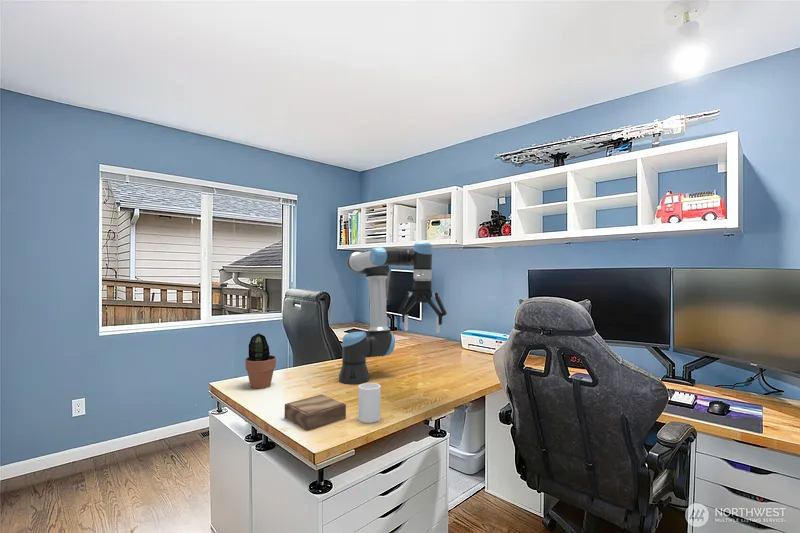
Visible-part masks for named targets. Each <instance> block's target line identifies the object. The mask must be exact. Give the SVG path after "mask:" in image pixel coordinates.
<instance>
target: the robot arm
mask: <svg viewBox="0 0 800 533" xmlns="http://www.w3.org/2000/svg"><path fill="white" fill-rule="evenodd" d="M432 248H433V247H432V244H431V243H430V242H415V243H414V244H413V248H408V247H407V248H402V247H383V246H378V247H373V248H371V249H370V250H369V251H355V252H352V253H350V254H349V255H348V257H347V258H346V266H347V268H348V270H349V271H351V272H353V273H355V274H360V275H365V278H366V280H368V288H369V289H368V290H369V292H368V294H369V295H368V296H369V318H370V324H369V325H370V327H369V328H368V329H367V333H366V331H353V332H348V333H346V334H344V336H343V337H342V344H341V345H342V346H341V347H342V351H341V352H342V361H341V362H342V363H341V364H342V365H341V368H340V371H339V374H338V381H339V383H342V384H346V385H347V384H348V385H361V384H364V383H368V381H369V380H370V373H369V370H368V367H367V363H366V362H367V358H377V357H385V356H389V355H391V354H392V353H393V352H394V350H395V347H396V346H395V345H396V337H395V334H394V333H393V332H391V328H390V327H389V326H388V316H387V315H388V313H387V294H386V291H387V290H386V280H387V279H388V277H389V275H390V273H392V268H393V266H398V267H399V266H401V267H402V266H403V267H404V266H405V267H413V282H412V283H413V284H412V286H413V287H412V288H413V289H412V290H413V291H409V290H407V291H405V297H404V299H403V300H402V303H401V304H400V307H399V309H398V310H397V313H398V314H401V315H402V320H401V321H402V323H404V330H403V331H404V332H407V331H408V330H409V314H407V313H409V311H410V310H411V309H412V308H413V307H414V306H415V304H416V303H418V304H420V303H422V304H428V305H429V306H430V307H431V309H432V310H433V311H434V312H435V314H436V315H437V316H436V318H435V319H436V325H435V326H436V329H435V330H436V331H435V333H436V334H439V333H440V332H441V330H440V329H441V328H440V326H441V325H442V324H443V317H444V316H447V314H448V312H447V311H446V307H445V306H444V304H443V301H442V300H441V298H440V292H438V291H437V292H432V288H433V287H432V285H433V284H432V279H433V276H432V274H433V272H432V268H433V265H432V264H433V249H432ZM411 296H412V297H413V299H412V300H411V302H410V303H409V304H408V301H409V299H410V298H411ZM432 297H433V298H434V299H435V301H436V303H437V305H438V307H437V305H436V303H434V301H433V299H432ZM407 304H408V305H407Z"/></svg>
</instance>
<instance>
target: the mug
mask: <svg viewBox="0 0 800 533" xmlns="http://www.w3.org/2000/svg"><path fill="white" fill-rule="evenodd" d="M357 404H358V411H357V413H358V414H357V415H358V416H357V420H358V421H359V422H361V423H366V424H372V423H373V424H374V423H378V422H379V421H381V419H382V417H381V385H380V384H379V383H376V382H365V383H360V384H358V402H357Z"/></svg>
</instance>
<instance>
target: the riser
mask: <svg viewBox="0 0 800 533" xmlns="http://www.w3.org/2000/svg"><path fill="white" fill-rule="evenodd" d="M346 418H347V404H346V403H343V402H341V401H338V400H336V399H334V398H332V397H328V396H327V395H324V394H318V395H314V396H311V397H307V398H303V399H298V400H294V401H292V402H287V403H284V419H287V420H288V421H290V422H291V423H294V424H295V425H297V426H299V427H301V428H303V429H304V430H306V431H311V430H314V429H317V428H320V427H324V426H326V425H330V424H333V423H334V422H338V421H342V420H345V419H346Z"/></svg>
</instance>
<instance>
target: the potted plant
mask: <svg viewBox="0 0 800 533" xmlns="http://www.w3.org/2000/svg"><path fill="white" fill-rule="evenodd" d="M244 360H245V362H244V363H245V371H247V372H246V373H247V375H248V382H249V386H250V388H251V389H253V388H254V389H255V390H260V389H261V390H262V388H263V389H267V388H269V387H270V386H271V385H272V379H273V375H274V370H275V369H276V365H277V364H276V363H277V356H276V355H271V352H270V346H269V344H268V342H267V338H266V336H265V335H263V334H261V333H257V334H254V335H252V336H251V337H250V340H249V343H248V357H246V358H245V359H244ZM266 387H267V388H266Z"/></svg>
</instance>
